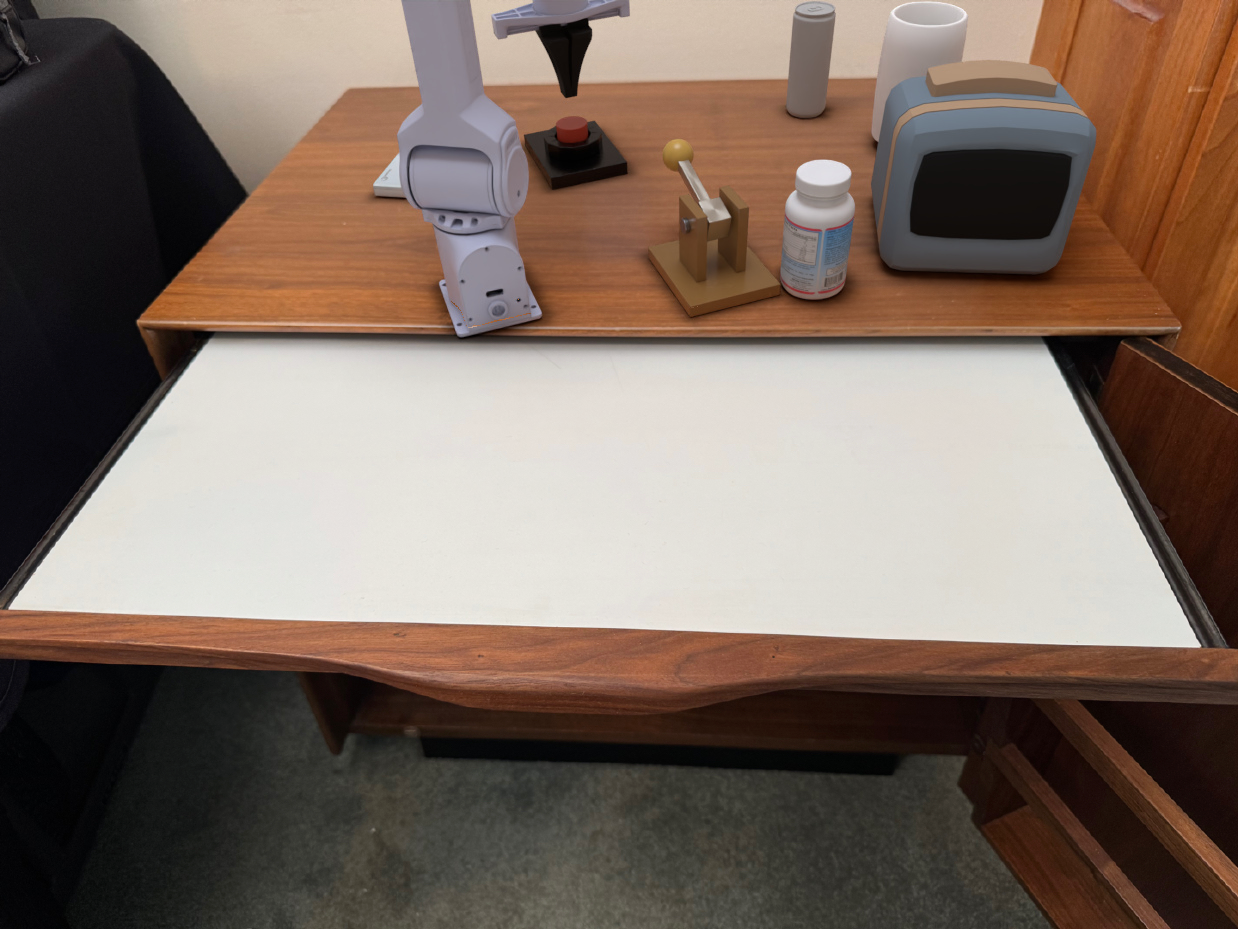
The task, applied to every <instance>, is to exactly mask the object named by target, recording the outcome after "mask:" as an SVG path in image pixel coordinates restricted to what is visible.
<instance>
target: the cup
mask: <svg viewBox="0 0 1238 929" xmlns="http://www.w3.org/2000/svg"><path fill="white" fill-rule="evenodd" d="M968 23H969V15H968V13H967V11H966V10H964V9H963V8H962V7H959V6H957V5H955V4H951V3H948V2H941V1H929V0H928V1H925V0H924V1H923V0H922V1H921V0H920V1H909V2H906V3H903V4H899V5H898V6H896V7H895V8H893V9H892V10H891V11H890V13H889V15H888V19H887V24H886V26H885V28H886V29H885V32H884V35H883V41H882V45H881V51H880V56H879V61H878V67H877V68H878V69H877V75H876V82H875V90H874V98H873V106H872V116H871V118H872V119H871V131H870V133H871V136H872V138H873V139H874V140H875V141H876V142H877V143H878V142H879V136H880V131H881V125H882V120H883V114H884V108H885V103H886V100H887V98H888V96H889V94H890V91H891V89H892V88H894V87H895V86H896V85H897V84H899V83H900V82H901V81H904V80H907V79H909V78H913V77H922V76H926V75H927V69H928V68H931V67H935V66H940V65H945V64H950V63H957V62H963V56H964V51H965V46H966V40H967V31H968Z"/></svg>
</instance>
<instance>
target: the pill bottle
mask: <svg viewBox="0 0 1238 929" xmlns="http://www.w3.org/2000/svg"><path fill="white" fill-rule="evenodd" d="M851 170H852V169H850V167H849V166H848V165H846V164H844V163H843V162H840V161H836V160H831V159H814V160H810V161H807V162H804V163H803V164H801V165H800V166H798V168H797V169H796V172H795V181H794V185H795V186H794V187H795V189H794V190H793V191H792V192H791V193H790V194H789V196H788V198H787V199H786V202H785V207H784V219H783V232H782V244H781V245H782V247H781V260H780V270H779V271H780V272H779V273H780V274H779V280H780V284H781V286H782V287H783V288H784V289H785V290H786V292H788V294H790V295H792V296H794V297H796V298H800V299H803V300H804V299H805V300H823V299H828V298H830V297H833V296H835V295H837V294H838V293H840V291H842V289H843V288H844V286H845V284H846V278H847V271H848V264H849V256H850V249H851V242H852V235H853V229H854V228H853V227H854V220H855V214H856V203H855V200H854V198H853V196H852V194H850V192H849V190H850V188H851V183H852V182H851V180H852V171H851Z"/></svg>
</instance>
